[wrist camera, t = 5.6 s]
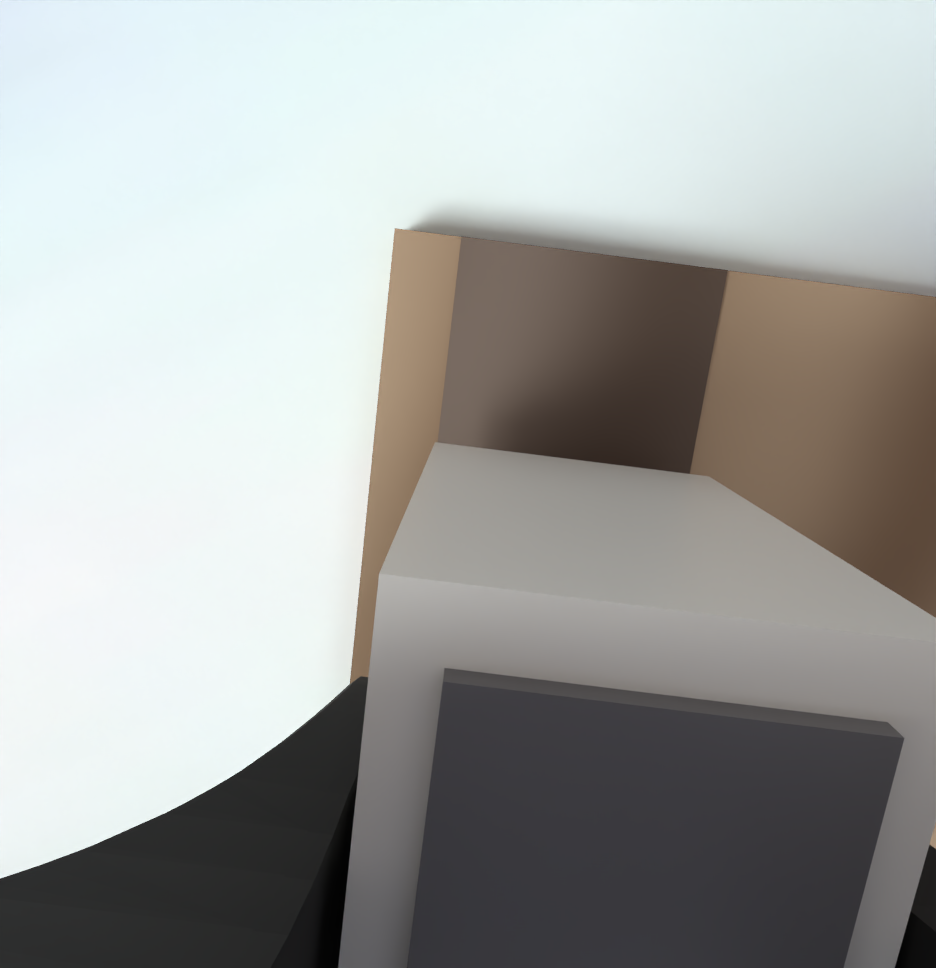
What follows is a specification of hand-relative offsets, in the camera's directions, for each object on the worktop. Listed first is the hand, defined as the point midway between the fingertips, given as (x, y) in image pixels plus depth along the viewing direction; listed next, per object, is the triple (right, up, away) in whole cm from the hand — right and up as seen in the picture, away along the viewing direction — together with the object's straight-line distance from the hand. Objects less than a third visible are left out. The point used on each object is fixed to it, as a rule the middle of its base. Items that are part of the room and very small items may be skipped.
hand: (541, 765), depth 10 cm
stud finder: (0, 0, +1) cm, 1 cm away
